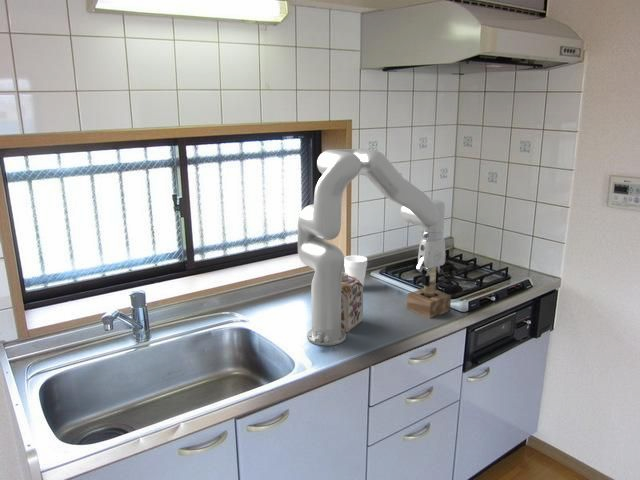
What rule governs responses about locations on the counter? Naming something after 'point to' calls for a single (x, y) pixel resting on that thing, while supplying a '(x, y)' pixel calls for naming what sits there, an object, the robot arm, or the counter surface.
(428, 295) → the beech dowel
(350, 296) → the decorative jar
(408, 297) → the socket block
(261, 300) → the counter surface
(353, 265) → the foam cup
